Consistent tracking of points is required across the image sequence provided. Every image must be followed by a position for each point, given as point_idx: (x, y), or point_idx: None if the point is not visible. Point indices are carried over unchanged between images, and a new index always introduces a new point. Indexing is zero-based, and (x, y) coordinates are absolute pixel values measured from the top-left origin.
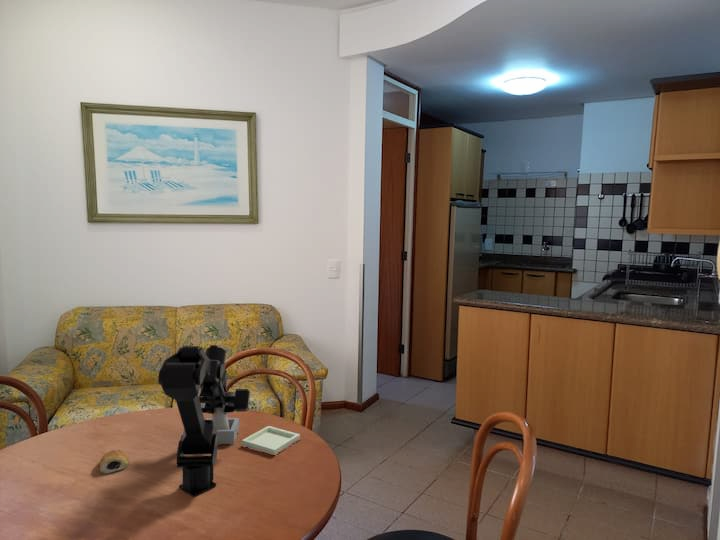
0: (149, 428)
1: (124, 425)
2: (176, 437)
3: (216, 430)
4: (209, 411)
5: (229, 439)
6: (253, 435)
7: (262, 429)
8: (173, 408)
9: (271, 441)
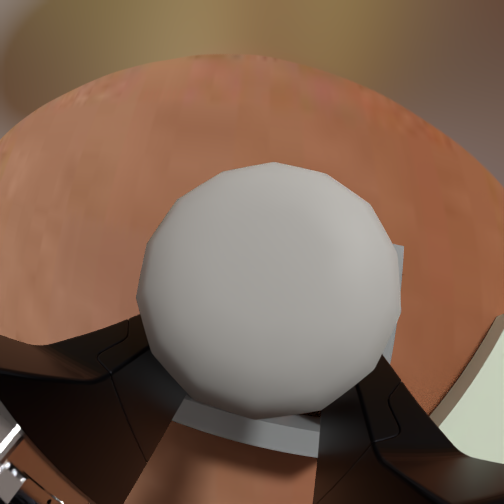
0: (50, 183)
1: (21, 161)
2: (96, 280)
3: (251, 428)
4: (147, 449)
5: None
6: (452, 425)
7: (493, 353)
8: (144, 65)
9: (497, 446)
